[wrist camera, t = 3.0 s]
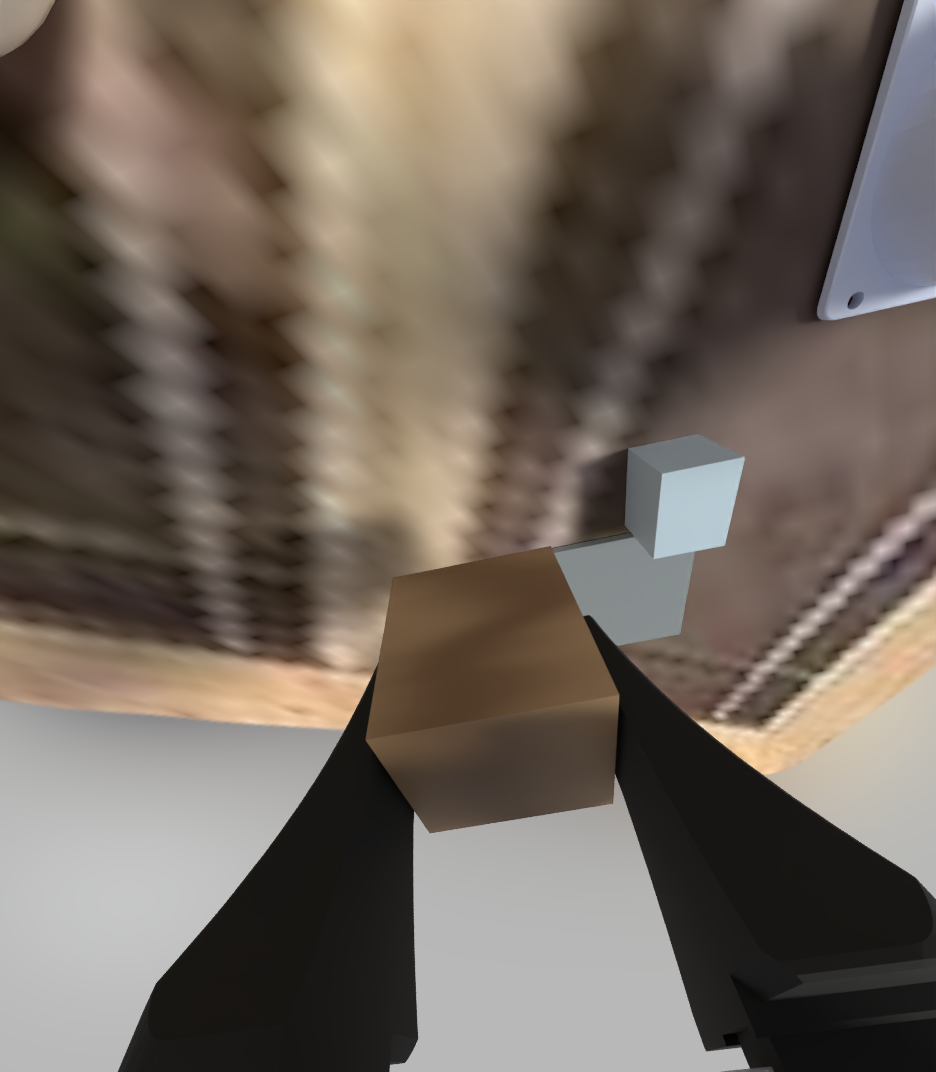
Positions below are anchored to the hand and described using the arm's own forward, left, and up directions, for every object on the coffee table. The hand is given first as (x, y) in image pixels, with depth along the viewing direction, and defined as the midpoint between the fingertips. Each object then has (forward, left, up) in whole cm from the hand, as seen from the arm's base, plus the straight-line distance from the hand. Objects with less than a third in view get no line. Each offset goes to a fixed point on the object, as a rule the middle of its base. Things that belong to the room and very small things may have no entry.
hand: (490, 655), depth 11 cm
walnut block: (0, 0, -2) cm, 2 cm away
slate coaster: (-7, +6, -7) cm, 12 cm away
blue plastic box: (-9, 0, -8) cm, 12 cm away
